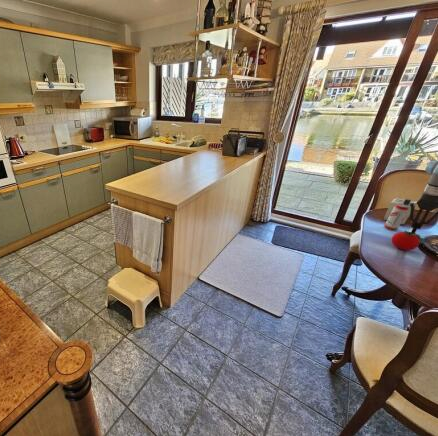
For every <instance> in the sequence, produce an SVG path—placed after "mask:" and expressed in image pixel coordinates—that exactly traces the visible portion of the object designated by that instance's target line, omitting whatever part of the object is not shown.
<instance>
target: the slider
mask: <svg viewBox="0 0 438 436" xmlns="http://www.w3.org/2000/svg"><path fill="white" fill-rule="evenodd" d="M404 200H405V201H404V203H403V204H405V205H409V204H410V202H411V201H412V199H409V198H405V199H404Z"/></svg>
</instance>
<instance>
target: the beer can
mask: <svg viewBox="0 0 438 436" xmlns="http://www.w3.org/2000/svg"><path fill="white" fill-rule="evenodd" d="M407 212H408V206H407V205H404V204H397V205H396V206H395V207H394V208H393V210H392V212H391V214H390V216H389V218H388V220H387V221H385V224H384V228H385V229H387V230H389V231H398V230H399V228H400V226H401V225H400V224H401V222H402V221H403V219H404V217H405V215H406V213H407Z"/></svg>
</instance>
